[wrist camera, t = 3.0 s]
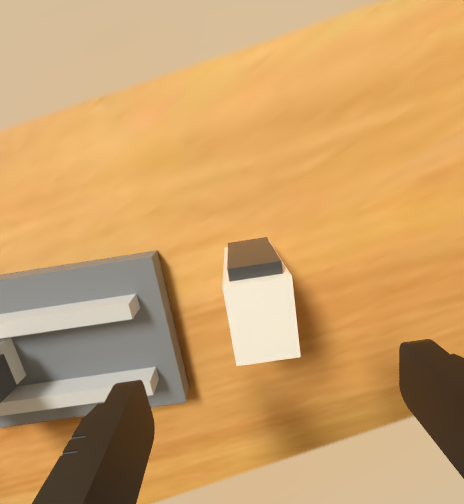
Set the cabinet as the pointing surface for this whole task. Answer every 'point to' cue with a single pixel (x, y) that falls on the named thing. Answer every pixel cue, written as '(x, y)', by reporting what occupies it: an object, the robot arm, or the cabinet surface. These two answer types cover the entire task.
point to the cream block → (259, 303)
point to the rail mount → (86, 338)
